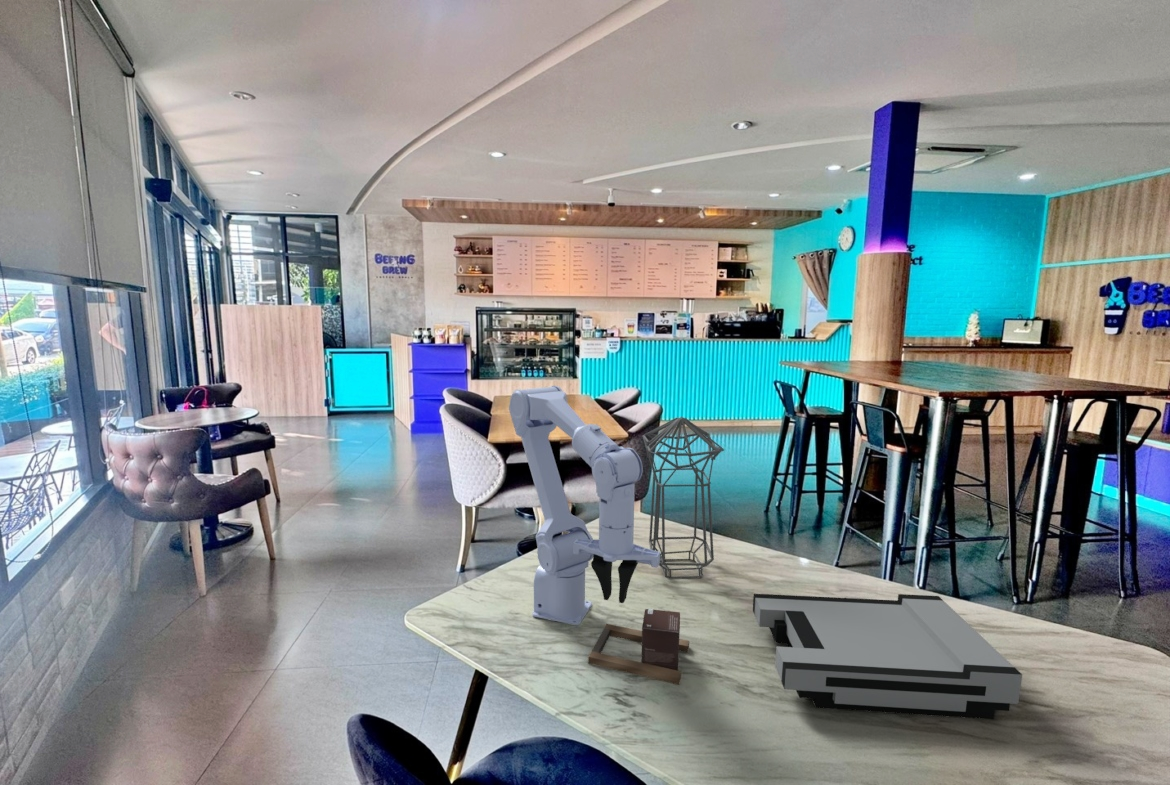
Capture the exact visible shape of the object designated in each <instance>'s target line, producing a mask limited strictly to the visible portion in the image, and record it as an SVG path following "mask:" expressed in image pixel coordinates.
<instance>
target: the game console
mask: <svg viewBox="0 0 1170 785" xmlns="http://www.w3.org/2000/svg"><path fill="white" fill-rule="evenodd" d="M752 612H753V614H754V617H755V619H756V623H757V625H758V626H759V628H768V629H769V631H770V633H771V635H772V638H773V640H774V643H775V644H783V645H784V644H785V645H786V646H778V645H777V646H776V647H775V658H774V659H775V660H774V661H775V662H774V663H775V664H774V667H775V669H776V672H777V674H778V677H779V679H780V680H779V681H780V682H781V685H782V688H783V689H784V690H790V691H791V690H792V691H796V693H797V695H798V698H799V699H809V700H810V699H811V701H812V702H813V705H814V707H815V708H816V709H823V710H824V709H825V710H842V711H843V710H844V711H855V712H858V711H859V712H869V711H870V712H872V713H873V712H874V713H885V712H886V713H885V714H887V713H888V714H889V713H890V714H900V715H901V714H903V715H904V714H905V715H915V716H916V715H919V716H931V715H932V716H933V717H946V716H949V717H948V718H962V717H965V719H977V720H978V719H982V720H993V719H994V720H995V713H996V711H1002V712H1003V711H1005V712H1009V711H1010V707H1011V704H1013V705H1018V704H1019V700H1020V693H1021V686H1022V680H1023V674H1022V673H1021V672H1020V671H1019V670H1018V669H1017V668H1016V667H1015V666H1014V665H1013V664H1011V662H1010V661H1008V659H1007V658H1006V657H1004V656H1003V654H1001V653H1000V652H999V651H998V650H997V649H996V648H995V647H994V646H993V645H992V644H990V643H989V642H988V640H986V639H985V638H984V637H983V636H982V635H981V634H980V633H979V632H978V631H977V630H975V629H974V627H972V626H971V624H969V623H968V622H967V621H966V620H965V619H964V618H963V617H961V615H959V614H958V613H957V611H956V610H955V609H953V608H952V607H951V606H950V605H949V604H948V603H947V602H945V601H944V600H943V599H942V597H941V596H939V595H925V594H905V593H904V594H902V593H898V594H897V600H894V599H893V600H892V599H878V598H877V599H876V598H875V599H874V598H856V597H855V598H853V597H852V598H851V597H835V596H834V597H833V596H831V597H830V596H815V595H814V596H811V595H789V594H772V593H771V594H770V593H767V594H766V593H753V598H752ZM932 716H931V717H932Z"/></svg>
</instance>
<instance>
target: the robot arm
mask: <svg viewBox="0 0 1170 785" xmlns="http://www.w3.org/2000/svg"><path fill="white" fill-rule="evenodd" d="M568 402H569V401H568V395H567V393H566V392H565V391H564V390H563V389H562V388H561V387H560V386H558V385H551V386H547V387H546V386H545V387H537V388H536V387H535V388H527V389H526V388H525V389H521V388H519V389H515V390H514V391H513V392H512V394H511V396H510V400H509V406H508V410H509V415H510V418H511V421H512V425H513V428H514V431H515V435H517V436H518V437H520V438H521V442H522V447H523V448H524V449H523V450H524V452H525V457H526V460H527V463H528V466H529V470H530V474H531V477H532V480H533V485H534V488H535V493H537V494H536V495H537V499H538V501H539V504H540V505H539V506H540V509H541V512H542V516H543V519H544V522H543V524H542V525H541V527H540V529H539V530H538V532H537V533H536V535H535V540H536V546H537V560H538V563H539V565H538V567H537V568H536V571H535V574H534V579H533V612H532V614H531V615H532V617H535V618H538V619H539V618H540V619H543V620H544V619H545V620H549V621H554V622H559V623H563V624H567V625H568V624H569V625H573V626H579V625H580V624H581V623H582V621H583V619H584V618H585V616H586V614H587V613H588V611H589V610H590V609H591V607H592V606H593V602H591V601H590V600H589V601H588V600H586V569H587V568H589V562H591V563H590V565H591V568H592V570H593V572H594V573H595V575H596V577H597V579H598V582H599V584H600V587H601V592H602V596H603V600H604V601H609V599H610V597H611V596H612V591H613V590H612V588H613V584H612V574H613V573H612V570H613V563H616V562H617V561H621V562H620V564H619V565H618V568H617V572H618V580H619V589H618V591H619V592H618V602H619V603H620V604H624V603H625V601H626V600H627V595H628V589H629V587H630V582H631V580H632V577H633V575H634V572H635V571H636V569H637V566H638V564H644V565H650V566H651V567H652V568H656V569H657V568H659V567H660V566H659V563H660V553H661V551H660V550H658V551H656V550H655V551H654V550H650V548H648V547H645V546H641V545H638V544H635V543H634V535H635V534H634V532H635V530H634V527H635V526H634V524H635V490H636V489H635V483H638V482H639V481H640V480H641V478H642V476H643V471H644V470H643V467H644V466H643V462H642V460H641V457H640V456H639V454H638V453H637V452H636V450H635V449H634V448H633V447H632V448H631V447H623V446H619V445H618V444H617V443H616V442H615V441H614V440H613V439H612V438H610V437H609V436H608V435H607V434H606V433H605V432H604V431H603V430H602V427H601V426H599V425H598V424H593V423H589V424H586V422H584V420H582V418H581V417H580V416H579V415H578V414H577V412H576V411H575V410H574V409H573V408H572V407H571V406H570V405H569V403H568ZM556 428H559V429H560V430H561V431H562V432H564V434H566V435H567V436H568V437H570V439H571V446H572V449H573V450H574V451H575V452H576V454H577V455H579V456H580V458H582V460H583V461H584V462H585V463H586V464H587V465H588V466H589V467H590V468H591V473H592V478H593V481H594V482H595V488H596V489H595V491H596V494H597V495H596V496H597V497H598V498H599V501H598V502H599V504H598V506H599V510H598V511H599V512H598V517H599V519H598V521H599V522H598V539H593V536H592V535H591V534H590V532H589V531H588V528H587V526H586V522H585V521H584V520H583V519H581V518H579V517H578V516H575V515H573V514H572V512H571V509H570V506H569V503H568V499H567V496H566V493H565V492H566V491H565V489H564V486H563V482H562V480H561V475H560V472H559V470H558V466H557V463H556V459H555V456H554V453H553V449H552V446H551V442H550V440H549V437H550V433H552V432H553V431H555V430H556ZM564 532H567V533H564ZM560 533H562V534H560ZM563 533H564V534H563ZM558 534H560V535H558ZM555 535H556V536H555Z"/></svg>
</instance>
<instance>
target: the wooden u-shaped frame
mask: <svg viewBox="0 0 1170 785" xmlns="http://www.w3.org/2000/svg"><path fill="white" fill-rule="evenodd" d="M610 637H612V638H613V637H614V638H618V639H623V640H626V641H631V642H637V643H641V644H642V630H638V629H636V628H635V629H634V628H629V627H624V626H620V625H615V624H609V623H605V625H604V627H603V629H602V631H601V632H600V635H599V636H598V638H597V640H596V642H595V644H594V645H593V647H592V649H591V651H590V653H589V654H588V657H587V663H588V664H589V665H593V666H599V667H602V668H603V667H604V668H607V669H610V670H614V671H619V672H624V673H626V674H627V673H628V674H631V675H636V676H640V677H644V678H647V679H648V678H649V679H653V680H657V681H662V682H664V683H665V682H666V683H670V684H673V685H679V686H680V683H681V679H682V670H678V671H677V670H673V669H668V668H664V667H659V666H655V665H651V664H646V663H642V662H641V661H638V660H634V659H633V660H632V659H629V658H624V657H620V656H616V655H611V654H606V653H603V650H604V649H605V647H606V645H607V642H608V641H609V639H610ZM689 649H690V640H688V639H687V640H686V639H681V638H679V652H682V653H689Z"/></svg>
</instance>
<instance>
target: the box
mask: <svg viewBox="0 0 1170 785" xmlns="http://www.w3.org/2000/svg"><path fill="white" fill-rule="evenodd" d="M642 619H643V620H642V626H641V631H642V643H641V654H640V655H641V657H640V658H641V661H640V662H642V663H646V664H651V665H655V666H659V667H664V668H668V669H673V670H677V671H679V662H680V661H679V658H680V657H679V656H680V651H679V639H680V631H681V628H680V627H681V612H680V611H679V612H678V611H670V610H662V609H661V610H660V609H652V608H651V609H650V608H645V609H644V614H643V618H642Z"/></svg>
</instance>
